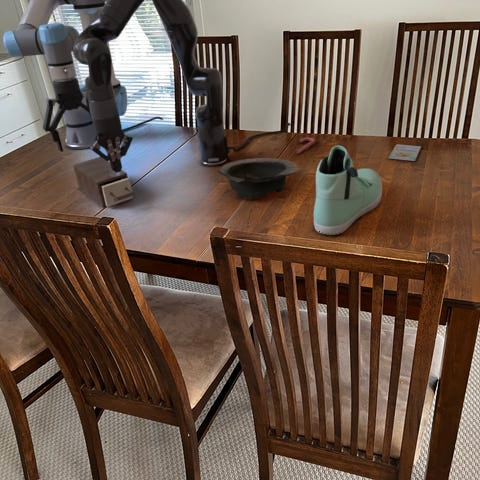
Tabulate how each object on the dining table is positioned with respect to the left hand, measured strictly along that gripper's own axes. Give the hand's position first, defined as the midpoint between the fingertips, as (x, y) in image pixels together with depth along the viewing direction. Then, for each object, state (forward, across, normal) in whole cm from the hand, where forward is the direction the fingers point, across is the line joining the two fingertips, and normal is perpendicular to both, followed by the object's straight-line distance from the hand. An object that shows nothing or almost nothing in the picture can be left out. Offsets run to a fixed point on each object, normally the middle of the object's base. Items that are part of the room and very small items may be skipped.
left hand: (81, 145), depth 158 cm
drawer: (+14, +2, -14) cm, 20 cm away
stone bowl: (+15, +41, -42) cm, 60 cm away
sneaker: (+15, +52, -70) cm, 89 cm away
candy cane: (+15, +75, -25) cm, 81 cm away
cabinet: (+15, +2, -8) cm, 17 cm away
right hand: (+2, +2, -24) cm, 24 cm away
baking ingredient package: (+15, +97, -55) cm, 112 cm away
